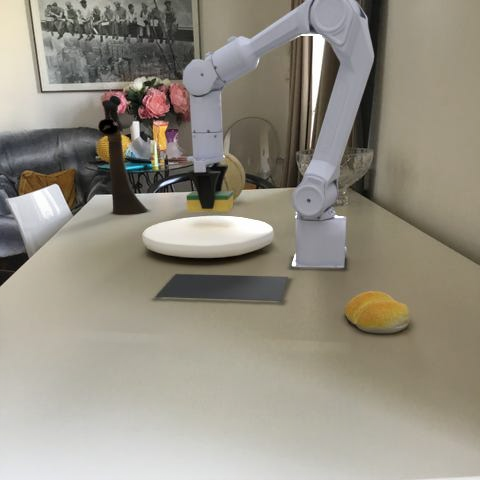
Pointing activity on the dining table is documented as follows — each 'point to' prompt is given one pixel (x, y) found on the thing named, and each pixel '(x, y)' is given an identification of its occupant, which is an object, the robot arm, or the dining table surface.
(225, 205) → the sponge
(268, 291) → the sponge mat
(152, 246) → the plate
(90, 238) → the dining table surface
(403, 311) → the bread roll
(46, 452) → the dining table surface
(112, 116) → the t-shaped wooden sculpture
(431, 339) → the dining table surface
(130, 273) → the dining table surface
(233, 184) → the cantaloupe
